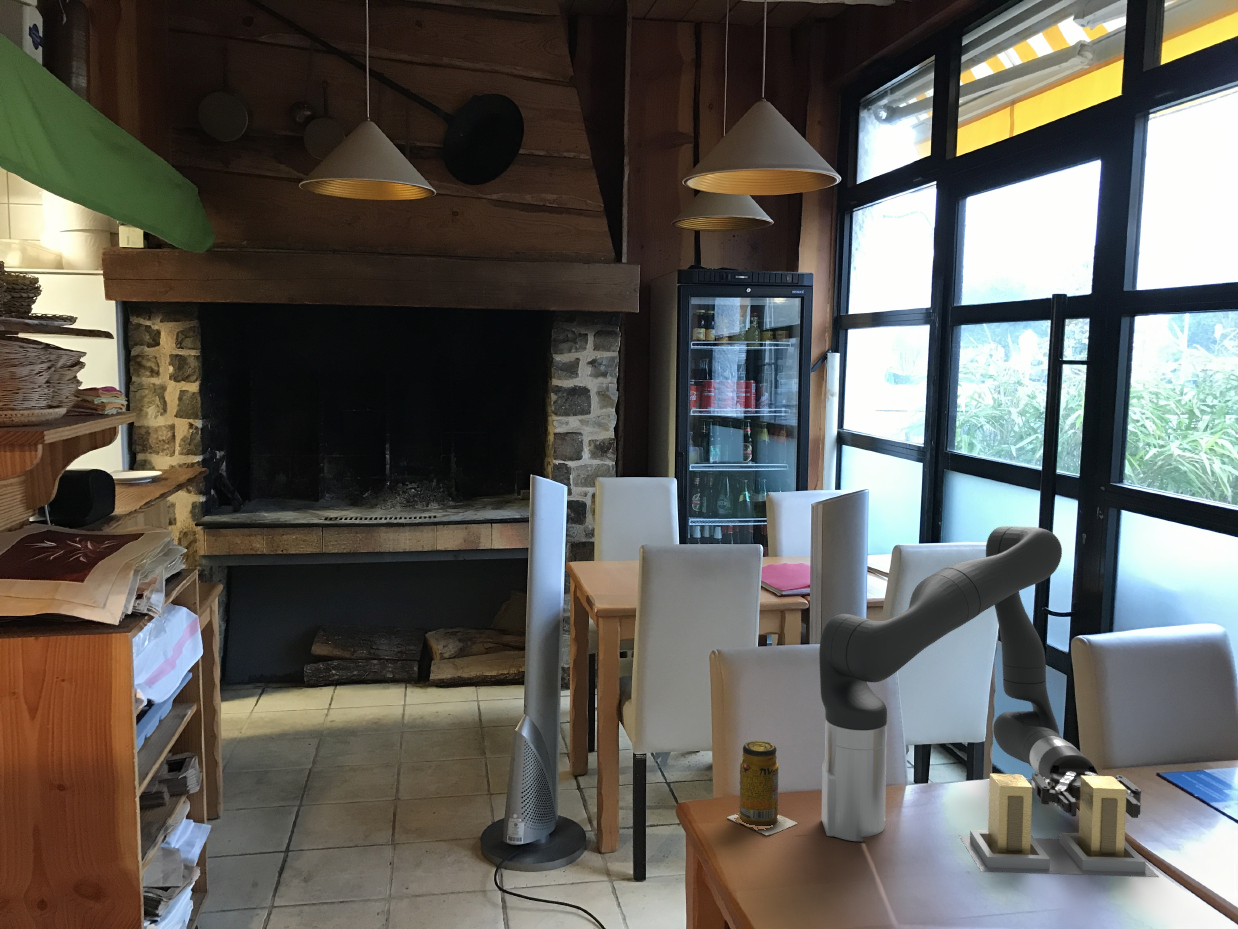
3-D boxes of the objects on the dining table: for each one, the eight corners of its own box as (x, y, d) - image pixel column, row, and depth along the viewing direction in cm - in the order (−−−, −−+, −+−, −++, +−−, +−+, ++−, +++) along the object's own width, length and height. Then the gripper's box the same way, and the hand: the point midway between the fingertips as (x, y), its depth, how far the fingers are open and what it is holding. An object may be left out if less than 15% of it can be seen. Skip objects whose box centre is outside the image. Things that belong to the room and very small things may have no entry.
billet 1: (998, 862, 140) (1000, 786, 139) (987, 846, 145) (989, 773, 144) (1030, 863, 139) (1033, 787, 139) (1019, 847, 144) (1021, 774, 143)
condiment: (757, 806, 161) (758, 735, 160) (798, 824, 154) (799, 749, 154) (726, 819, 156) (727, 745, 156) (766, 837, 150) (767, 760, 149)
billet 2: (1091, 864, 139) (1094, 788, 138) (1078, 848, 144) (1080, 775, 143) (1124, 865, 139) (1127, 789, 138) (1109, 849, 143) (1112, 776, 143)
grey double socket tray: (980, 878, 137) (981, 861, 137) (958, 842, 148) (959, 826, 148) (1158, 883, 136) (1159, 866, 135) (1123, 847, 147) (1123, 830, 146)
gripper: (1016, 743, 156) (1054, 783, 140) (1108, 745, 155) (1158, 786, 139) (1015, 789, 157) (1053, 834, 141) (1107, 791, 156) (1155, 838, 140)
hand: (1105, 810), depth 140 cm, fingers open, 8 cm apart
